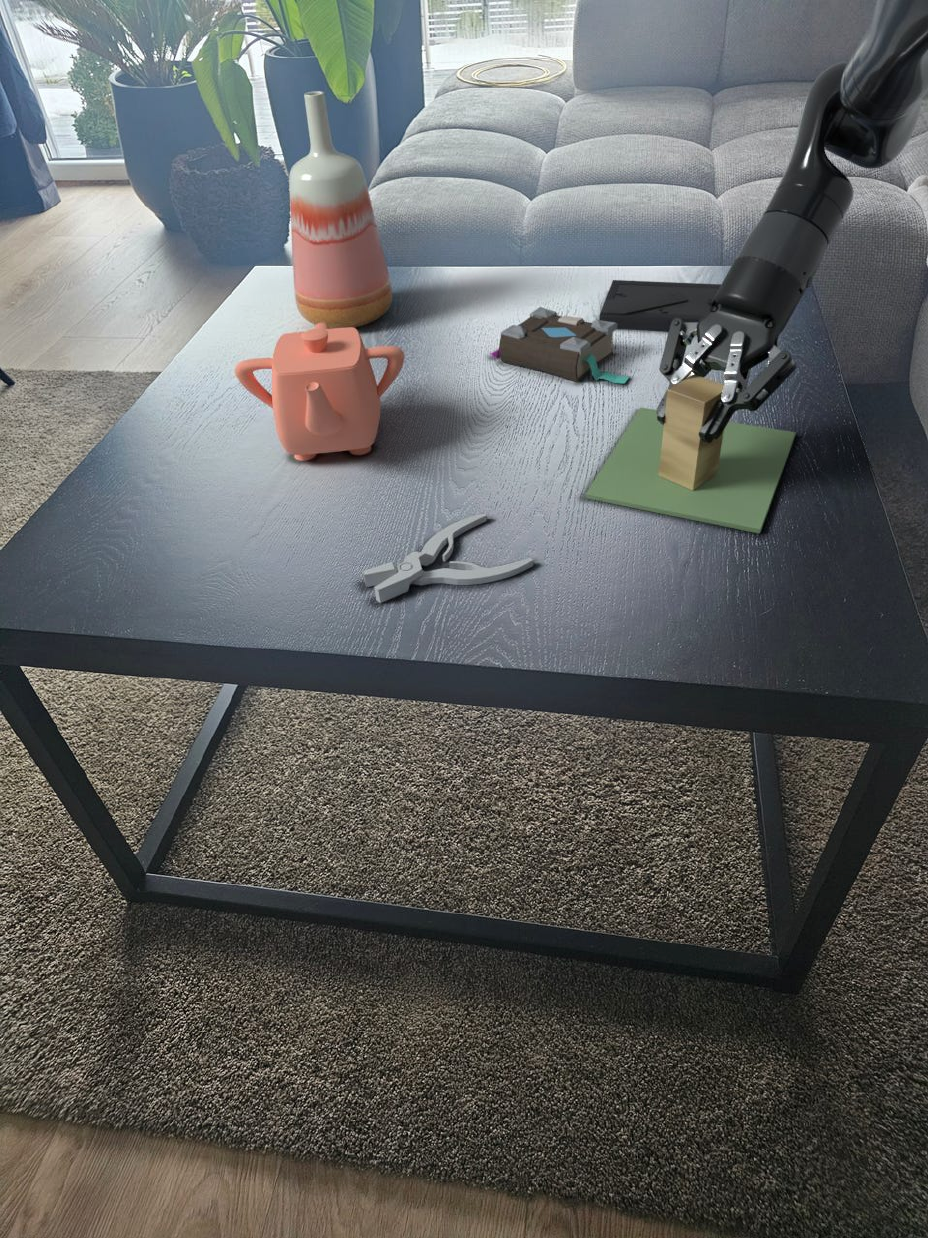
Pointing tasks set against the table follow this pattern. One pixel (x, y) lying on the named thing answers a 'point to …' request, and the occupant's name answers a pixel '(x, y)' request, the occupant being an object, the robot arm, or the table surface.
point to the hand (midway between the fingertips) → (683, 430)
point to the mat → (721, 500)
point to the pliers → (410, 571)
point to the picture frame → (656, 303)
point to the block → (689, 433)
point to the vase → (334, 233)
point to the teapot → (323, 390)
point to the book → (559, 345)
